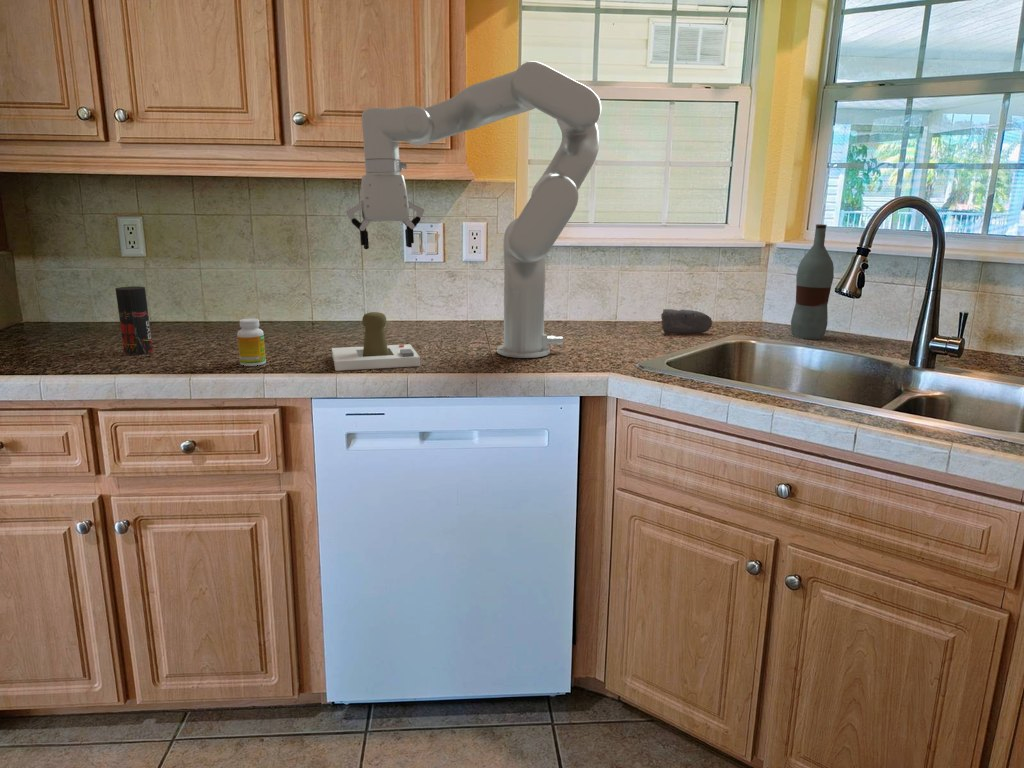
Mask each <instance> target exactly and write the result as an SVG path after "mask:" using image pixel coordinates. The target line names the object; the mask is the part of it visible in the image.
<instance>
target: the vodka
mask: <svg viewBox="0 0 1024 768" xmlns="http://www.w3.org/2000/svg"><path fill="white" fill-rule="evenodd" d="M827 226H828V225H827V224H819V223H818V224H815V230H814V240H813V244H812V246H811V247H810V249H809V250H808V251H807V253H806V254H805V255H804V256H803V258H802V259H801V260H800V262H799V265H798V267H797V272H796V275H795V276H796V279H795V280H796V281H795V283H796V287H795V288H796V289H795V305H794V307H793V308H794V309H793V312H792V315H791V320H790V333H791V336H792V335H793V336H795V337H799V338H798V339H800V338H805V339H804V340H809V339H819V340H823V339H824V337H825V334H826V331H827V327H828V321H829V320H828V318H829V317H828V304H829V300H830V295H831V289H832V286H833V285H832V284H833V281H834V276H835V275H834V274H835V273H834V272H835V271H834V270H835V268H834V262H833V260H832V257H831V256H830V254H829V252H828V250H827V248H826V246H825V242H826V241H825V240H826V230H827ZM793 336H792V337H793ZM795 337H794V338H795ZM822 338H823V339H822Z"/></svg>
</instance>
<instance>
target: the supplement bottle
mask: <svg viewBox="0 0 1024 768" xmlns="http://www.w3.org/2000/svg"><path fill="white" fill-rule="evenodd" d="M239 327H240V328H241V329H239V330H238V331H237V333H236V334H237V335H236V336H237V345H238V347H237V348H238V357H239V365H241V366H243V365H244V367H257V365H258V366H261V365H262V366H263V365H265V364H266V363H267V359H266V347H265V334H264V331H263V330H262V328H259V327H260V320H259V318H243V319H239Z"/></svg>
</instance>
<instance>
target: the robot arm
mask: <svg viewBox="0 0 1024 768" xmlns="http://www.w3.org/2000/svg"><path fill="white" fill-rule="evenodd" d="M534 109H537V110H538V111H540V112H542V113H543V114H545V115H547V116H549V117H552V118H553V119H556V122H557V124H558V127H559V129H560V131H561V142H560V144H559V146H558V147H559V148H558V149H557V150H556V152H555V154H554V156H553V157H552V159H551V161H550V163H549V164H548V166H547V168H546V169H545V171H544V172H543V173H542V175H541V176H540V178H539V179H538V180H537V181H536V183H535V185H534V186H533V188H532V190H531V194H530V198H529V199H528V200H527V203H526V205H524V208H523V209H522V210H521V212H520V214H519V216H518V217H517V218H515V219H513V220H511V222H509V224H508V225H507V226H506V228H505V230H504V234H503V261H504V262H503V265H504V267H503V268H504V269H503V271H504V272H503V273H504V277H503V278H504V279H503V282H504V283H503V284H504V285H503V286H504V287H503V344H502V345H501V344H500V345H498V346H497V348H496V352H497V354H498V355H500V356H503V357H507V358H508V357H509V358H518V359H534V358H541V357H545V356H548V355H550V353H551V348H550V346H551V345H563V343H564V337H563V336H561V335H560V336H555V335H548V334H546V333H544V331H545V299H546V298H545V292H546V291H545V290H546V289H545V288H546V255H547V254H548V253H549V251H550V250H551V248H552V247H553V246H554V244H555V242H556V241H557V239H558V238H559V236H560V234H561V233H562V232H563V230H564V229H565V227H566V225H567V224H568V223H569V221H570V219H571V217H572V216H573V214H574V212H575V210H576V208H577V206H578V204H579V203H578V202H579V189H580V187H581V186H582V185H583V183H584V181H585V179H586V177H588V175H589V172H590V171H591V169H592V167H593V166H594V164H595V161H596V159H597V157H598V153H599V148H600V147H599V146H600V132H599V128H598V124H597V122H598V121H599V120H600V117H601V114H602V102H601V99H600V97H599V96H598V95H597V93H596V92H595V91H594V90H593V89H591V88H590V87H588V86H586V85H585V84H583V83H581V82H579V81H576V80H575V79H573V78H571V77H569V76H567V75H565V74H563V73H561V72H560V71H557V70H555V69H554V68H552V67H550V66H549V65H547V64H544V63H542V62H539V61H532V60H531V61H530V60H529V61H526V62H524V63H522V64H521V65H519V66H518V67H517V68H516V70H513V71H511V72H508V73H505V74H503V75H499V76H496V77H493V78H489V79H487V80H482V81H480V82H478V83H477V82H476V83H473V84H471V85H469V86H467V87H465V88H464V89H462V90H460V92H458V93H457V94H456V95H454V96H453V97H451V98H449V99H446V100H445V101H442V102H438V103H436V104H433V105H430V106H428V107H421V106H417V105H407V106H402V107H395V108H394V107H393V108H388V107H372V108H371V107H369V108H366V109H364V110H363V111H362V114H361V125H362V126H361V127H362V139H363V153H364V169H365V174H364V175H361V182H360V183H361V185H360V202H359V203H357V204H355V205H354V206H352V207H350V208H349V209H347V210H345V214H346V216H347V217H348V219H349V221H350V222H351V224H352V225H353V226H354V227H356V228H357V229H358V230H359V235H360V245H361V246H363V249H364V250H368V249H370V243H369V232H368V230H367V227H368V226H369V225H370V223H371V222H372V223H373V222H374V223H375V222H402V224H404V226H406V227H405V230H404V232H405V233H404V234H405V246H406V247H407V248H412V247H413V245H412V244H414V243H415V240H414V238H415V237H414V236H415V235H414V229H415V228H416V226H417V225H418V224H419V223H420V222H421V219H422V217H423V215H424V213H425V209H424V208H423V207H421V206H419V205H417V204H415V203H413V202H410V201H409V199H408V192H407V184H406V180H405V178H404V175H403V174H401V173H402V171H403V170H407V163H406V162H402V161H401V159H400V147H399V145H400V144H399V142H404V143H408V144H409V145H412V146H417V147H420V146H424V145H428V144H431V143H435V142H438V141H441V140H444V139H446V138H449V137H452V136H455V135H458V134H461V133H463V132H467V131H471V130H476V129H478V128H480V127H483V126H486V125H489V124H492V123H496V122H498V121H500V120H504V119H507V118H510V117H513V116H516V115H520V114H523V113H526V112H529V111H532V110H534ZM410 210H412V211H414V212H415V216H414V217H413V219H412V220H411V219H410ZM359 211H361V218H362V220H361V222H360V221H359V220H358V219H357V218H356V216H355V213H357V212H359Z"/></svg>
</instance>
